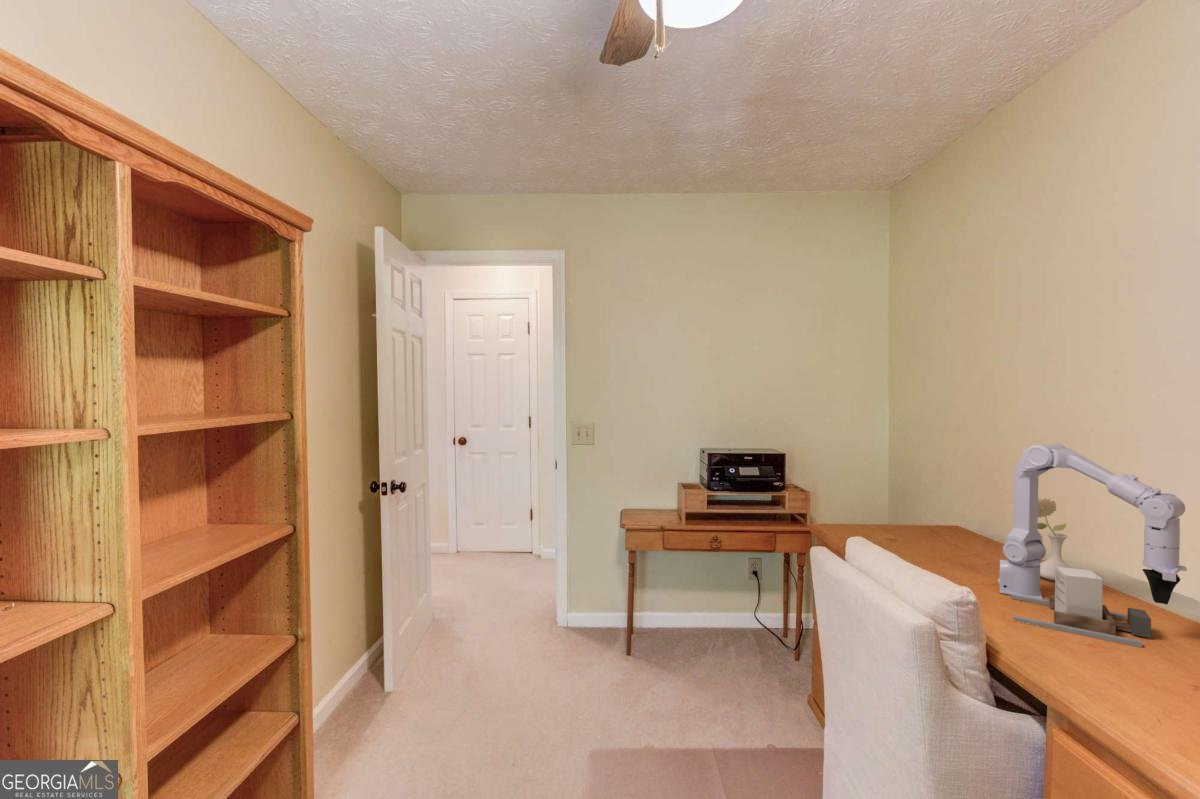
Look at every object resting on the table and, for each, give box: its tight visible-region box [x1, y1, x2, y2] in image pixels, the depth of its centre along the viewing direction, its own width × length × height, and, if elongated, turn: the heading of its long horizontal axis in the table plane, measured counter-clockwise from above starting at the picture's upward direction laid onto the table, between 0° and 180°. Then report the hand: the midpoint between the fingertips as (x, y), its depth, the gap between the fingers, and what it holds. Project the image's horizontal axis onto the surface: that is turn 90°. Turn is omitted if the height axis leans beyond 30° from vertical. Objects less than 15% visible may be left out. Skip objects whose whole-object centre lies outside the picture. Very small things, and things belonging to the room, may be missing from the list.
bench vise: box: [1048, 595, 1152, 639], centre depth 131 cm, size 18×13×4 cm
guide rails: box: [1010, 594, 1143, 648], centre depth 134 cm, size 23×19×1 cm
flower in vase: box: [1037, 497, 1073, 582], centre depth 163 cm, size 13×11×25 cm
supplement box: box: [1054, 566, 1104, 619], centre depth 133 cm, size 7×7×13 cm
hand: (1160, 602), depth 125 cm, fingers closed
